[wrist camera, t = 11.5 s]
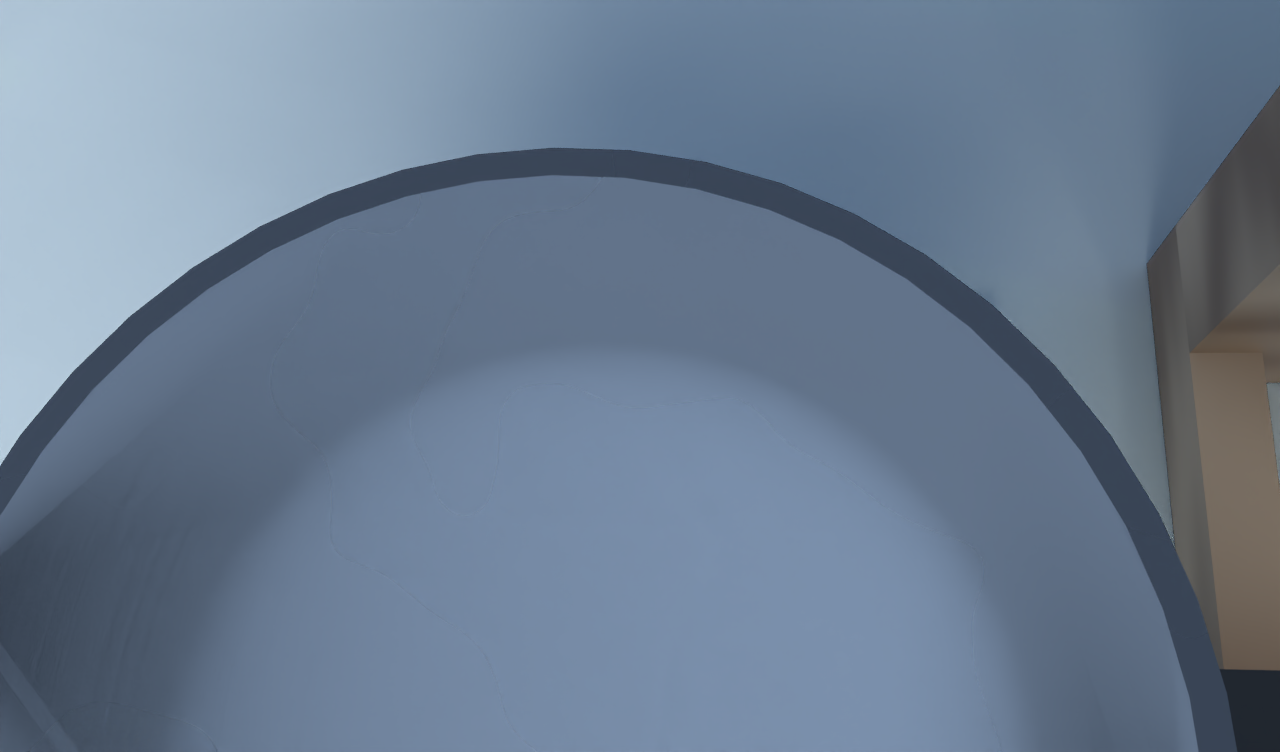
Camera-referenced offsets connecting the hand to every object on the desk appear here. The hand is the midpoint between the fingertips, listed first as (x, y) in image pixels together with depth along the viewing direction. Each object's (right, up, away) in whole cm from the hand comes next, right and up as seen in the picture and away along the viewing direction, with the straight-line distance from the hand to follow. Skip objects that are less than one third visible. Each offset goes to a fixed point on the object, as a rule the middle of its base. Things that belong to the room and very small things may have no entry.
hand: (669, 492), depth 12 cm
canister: (0, -4, +4) cm, 6 cm away
